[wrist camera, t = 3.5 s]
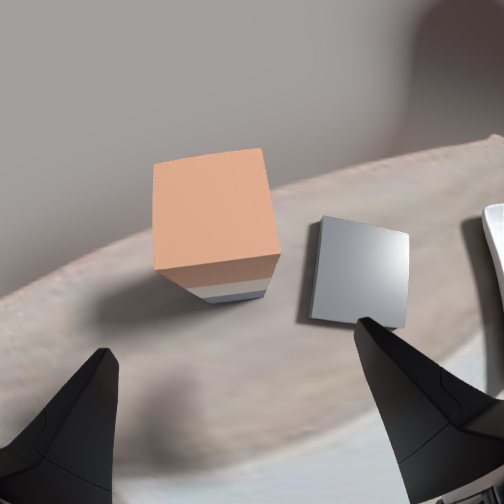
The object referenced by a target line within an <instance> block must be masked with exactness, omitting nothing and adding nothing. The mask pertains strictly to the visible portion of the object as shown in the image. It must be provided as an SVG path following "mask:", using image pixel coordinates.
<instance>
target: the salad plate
mask: <svg viewBox="0 0 504 504" xmlns="http://www.w3.org/2000/svg"><path fill="white" fill-rule="evenodd" d="M482 223H483V229H484V233H485V236H486V240H487V243H488V246H489V249H490V252H491V255H492V259H493V262H494V266H495V270H496V274H497V278H498V283H499V288H500V293H501V299H502V304H503V311H504V203H501V204H493V205H489V206H487V207H485V208H484V210H483V213H482Z"/></svg>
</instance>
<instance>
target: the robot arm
mask: <svg viewBox="0 0 504 504" xmlns="http://www.w3.org/2000/svg"><path fill="white" fill-rule="evenodd" d="M354 340H355V344H356V347H357V350H358V354H359V357H360V361H361V364H362V368H363V371H364V375H365V377H366V380H367V382H368V385H369V387H370V390H371V392H372V395H373V397H374V400H375V402H376V405H377V407H378V410H379V413H380V415H381V418H382V421H383V423H384V426H385V429H386V431H387V434H388V437H389V440H390V442H391V445H392V448H393V451H394V454H395V457H396V460H397V463H398V466H399V469H400V472H401V475H402V478H403V481H404V485H405V488H406V491H407V494H408V498H409V501H410V504H419V503H422V502H425V501H428V500H431V499H434V498H436V497H439V496H442V498H441V499H439V500H438V501H437V502H436V504H504V400H500V399H496V398H493V397H491V396H489V395H487V394H485V393H483V392H482V391H480V390H478V389H476V388H474V387H473V386H471V385H469V384H467V383H466V382H464V381H462V380H461V379H459V378H457V377H456V376H454V375H453V374H451V373H450V372H448V371H447V370H445V369H444V368H443V367H441V366H439V365H438V364H437V363H435V362H434V361H433V360H431V359H430V358H428V357H427V356H425V355H424V354H423V353H421V352H420V351H418V350H417V349H415V348H414V347H413V346H411V345H410V344H408V343H407V342H405V341H404V340H402V339H401V338H400V337H398V336H397V335H395V334H394V333H392V332H391V331H390V330H388V329H387V328H385V327H384V326H382V325H381V324H379V323H378V322H376V321H375V320H374V319H372V318H371V317H368V316H366V317H362V318H359V319H358V320H357V323H356V327H355V331H354ZM118 378H119V363H118V361H117V359H116V358H115V356H114V355H113V353H112V352H111V350H110V349H109V348H99V349H97V350H96V351H95V352H94V354H93V355H92V356H91V357H90V358H89V359H88V360H87V361H86V362H85V363H84V364H83V365H82V366H81V367H80V368H79V370H78V371H77V372H76V373H75V374H74V375H73V376H72V377H71V378H70V379H69V381H68V382H67V383H66V384H65V385H64V386H63V387H62V388H61V389H60V391H59V392H58V393H57V394H56V395H55V396H54V397H53V398H52V400H51V401H50V402H49V403H48V404H47V405H46V406H45V408H44V409H43V410H42V411H41V412H40V413H39V414H38V416H37V417H36V418H35V419H34V420H33V421H32V422H31V423H30V424H29V425H28V426H27V427H26V428H25V429H24V430H23V431H22V432H21V433H20V434H19V435H18V436H17V437H16V438H15V439H14V440H13V441H12V442H11V443H10V444H9V445H7V446H6V447H4V448H1V449H0V504H112V463H113V445H114V433H115V422H116V413H117V403H118Z"/></svg>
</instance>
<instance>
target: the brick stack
mask: <svg viewBox="0 0 504 504" xmlns="http://www.w3.org/2000/svg"><path fill="white" fill-rule="evenodd" d="M280 254H281V251H280V246H279V240H278V234H277V229H276V223H275V218H274V212H273V207H272V201H271V196H270V191H269V185H268V181H267V175H266V170H265V165H264V160H263V155H262V150H261V148H257V149H247V150H238V151H230V152H223V153H215V154H209V155H202V156H196V157H190V158H185V159H178V160H173V161H168V162H164V163H158V164H154V174H153V258H154V270H155V271H156V272H158V273H159V274H161V275H163V276H164V277H166V278H168V279H169V280H171V281H173V282H174V283H176V284H178V285H179V286H181V287H183V288H184V289H186V290H188V291H189V292H191V293H193V294H195V295H196V296H198V297H200V298H202V299H203V300H205V301H207V302H209V303H210V304H214V303H223V302H231V301H238V300H246V299H253V298H260V297H264V294H265V292H266V289H267V287H268V284H269V282H270V279H271V277H272V274H273V272H274V269H275V267H276V264H277V262H278V259H279V257H280Z"/></svg>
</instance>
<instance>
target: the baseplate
mask: <svg viewBox="0 0 504 504" xmlns="http://www.w3.org/2000/svg"><path fill="white" fill-rule="evenodd" d="M408 278H409V234H406V233H402V232H398V231H394V230H389V229H385V228H381V227H376V226H372V225H367V224H363V223H358V222H354V221H349V220H344V219H339V218H334V217H329V216H323V217H322V219H321V220H320V228H319V238H318V247H317V256H316V265H315V273H314V281H313V288H312V295H311V302H310V309H309V315H308V318H311V319H319V320H326V321H334V322H342V323H350V324H356V323H357V320H358V319H359V318H362V317H366V316H368V317H371V318H372V319H374V320H375V321H376V322H378V323H379V324H381V325H382V326H384V327H388V328H405V320H406V309H407V296H408Z"/></svg>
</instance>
